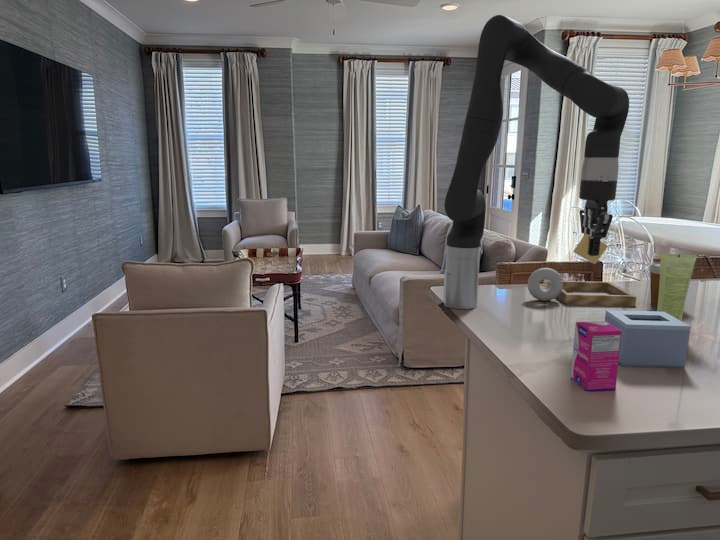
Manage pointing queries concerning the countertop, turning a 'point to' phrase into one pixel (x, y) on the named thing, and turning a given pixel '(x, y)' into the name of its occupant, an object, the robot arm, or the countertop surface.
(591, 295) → the frame
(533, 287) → the donut
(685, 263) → the tube
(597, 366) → the supplement box
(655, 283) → the disposable coffee cup
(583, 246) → the rectangular block
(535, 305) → the countertop surface
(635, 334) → the box
